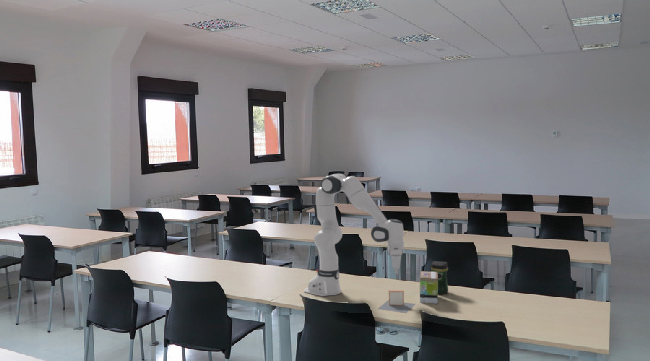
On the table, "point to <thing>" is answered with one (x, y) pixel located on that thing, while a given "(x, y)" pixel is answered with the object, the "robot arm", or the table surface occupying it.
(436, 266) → the coffee jar
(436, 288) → the tea box
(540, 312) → the table surface
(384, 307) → the mat
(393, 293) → the tile
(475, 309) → the table surface
